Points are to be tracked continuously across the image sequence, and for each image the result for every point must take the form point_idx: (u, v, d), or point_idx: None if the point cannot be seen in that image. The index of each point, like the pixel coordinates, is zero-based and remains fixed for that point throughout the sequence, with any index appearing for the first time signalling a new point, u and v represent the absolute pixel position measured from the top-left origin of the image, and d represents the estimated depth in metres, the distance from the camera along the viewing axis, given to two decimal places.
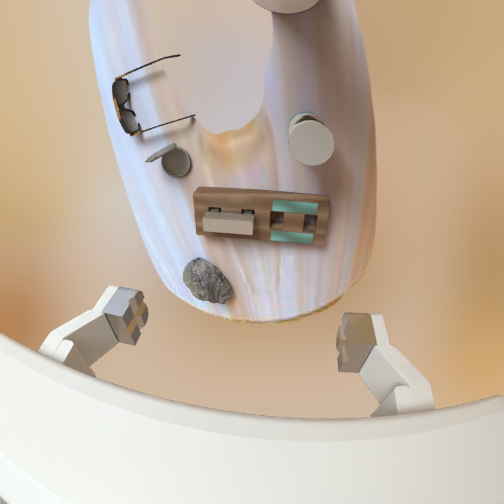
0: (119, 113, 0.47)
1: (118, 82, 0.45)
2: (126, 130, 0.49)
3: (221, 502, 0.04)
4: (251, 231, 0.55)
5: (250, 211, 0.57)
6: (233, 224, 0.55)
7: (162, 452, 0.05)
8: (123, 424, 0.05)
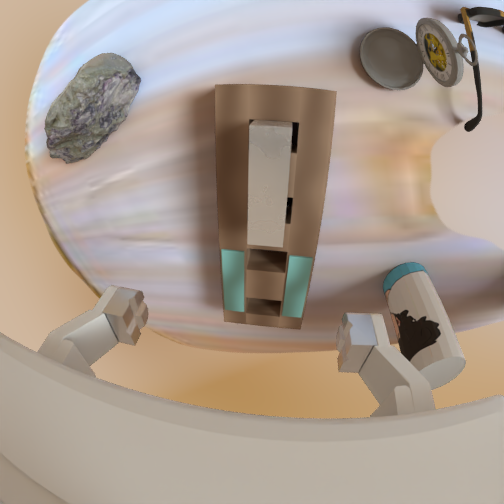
0: None
1: None
2: (482, 11, 0.10)
3: (221, 502, 0.04)
4: (256, 243, 0.24)
5: None
6: (274, 205, 0.21)
7: (161, 453, 0.05)
8: (123, 424, 0.05)
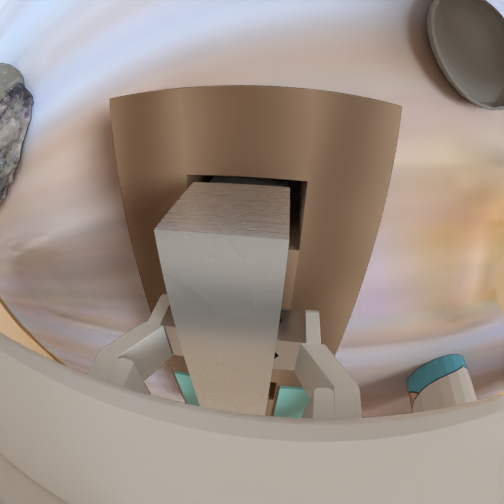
0: None
1: None
2: None
3: (221, 502, 0.04)
4: None
5: None
6: (244, 383, 0.09)
7: (162, 452, 0.05)
8: (123, 424, 0.05)
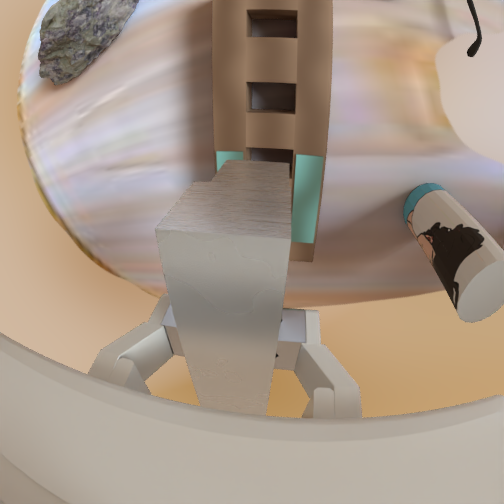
0: None
1: None
2: None
3: (221, 502, 0.04)
4: None
5: None
6: (245, 383, 0.09)
7: (161, 452, 0.05)
8: (123, 424, 0.05)
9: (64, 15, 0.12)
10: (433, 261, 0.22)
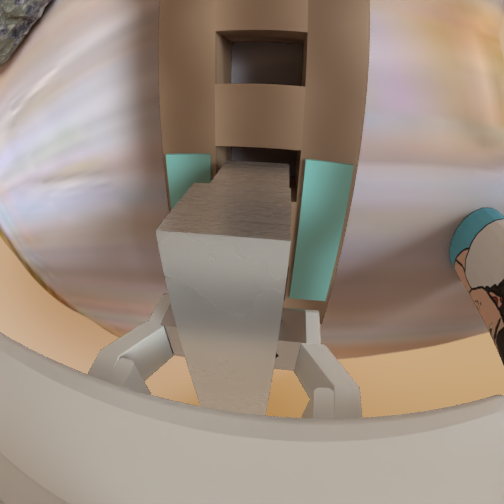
0: None
1: None
2: None
3: (221, 502, 0.04)
4: None
5: None
6: (245, 384, 0.09)
7: (161, 452, 0.05)
8: (123, 424, 0.05)
9: None
10: (497, 334, 0.11)
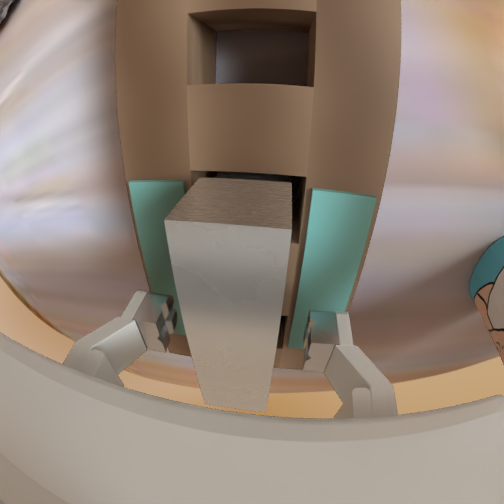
0: None
1: None
2: None
3: (221, 502, 0.04)
4: (220, 404, 0.12)
5: None
6: (247, 373, 0.10)
7: (161, 452, 0.05)
8: (123, 424, 0.05)
9: None
10: None
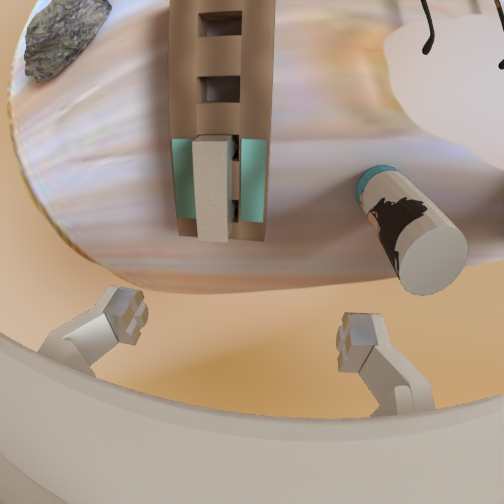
0: None
1: None
2: None
3: (221, 502, 0.04)
4: (205, 239, 0.28)
5: (234, 214, 0.31)
6: (217, 207, 0.25)
7: (161, 453, 0.05)
8: (123, 424, 0.05)
9: (46, 23, 0.14)
10: (379, 236, 0.24)
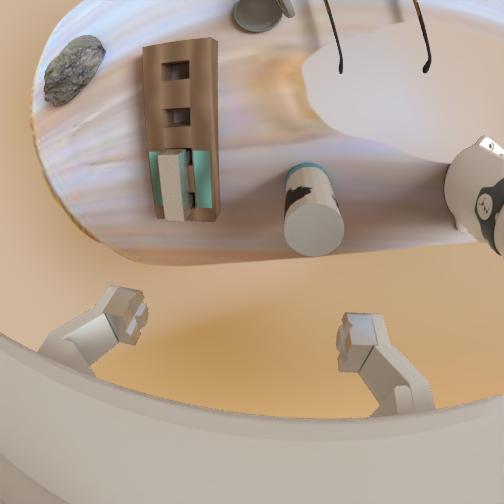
0: None
1: None
2: None
3: (221, 502, 0.04)
4: (170, 219, 0.40)
5: (192, 202, 0.42)
6: (175, 197, 0.37)
7: (161, 453, 0.05)
8: (123, 424, 0.05)
9: (58, 68, 0.26)
10: None
